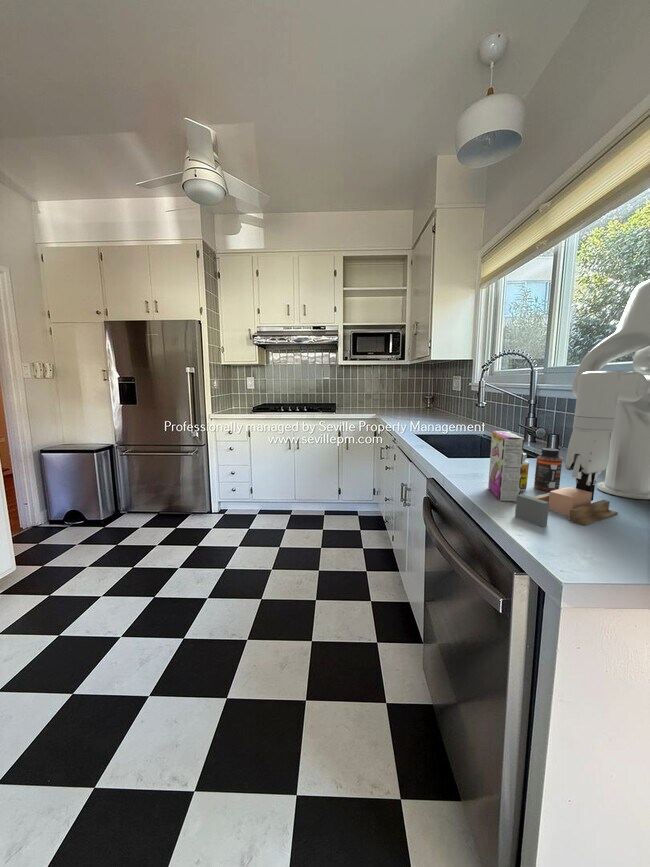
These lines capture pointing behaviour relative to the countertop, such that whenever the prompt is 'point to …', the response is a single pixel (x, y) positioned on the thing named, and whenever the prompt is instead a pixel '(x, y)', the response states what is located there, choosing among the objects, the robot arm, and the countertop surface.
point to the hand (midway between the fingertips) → (583, 499)
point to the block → (568, 499)
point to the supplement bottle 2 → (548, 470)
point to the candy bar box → (505, 465)
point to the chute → (586, 511)
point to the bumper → (532, 510)
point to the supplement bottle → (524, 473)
